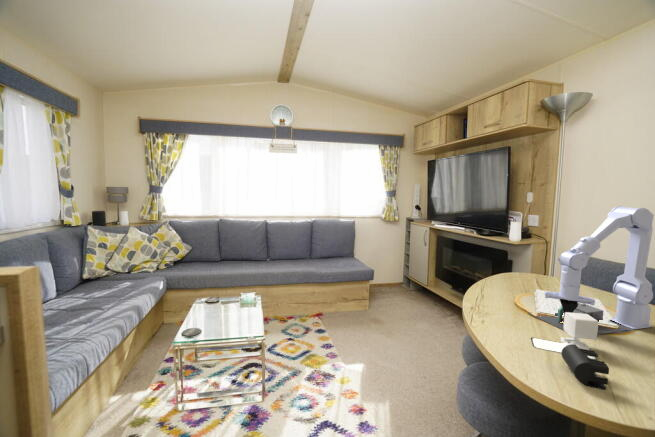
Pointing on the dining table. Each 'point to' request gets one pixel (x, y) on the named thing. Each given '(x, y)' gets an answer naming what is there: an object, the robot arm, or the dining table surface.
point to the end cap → (585, 366)
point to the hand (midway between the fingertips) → (566, 319)
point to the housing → (589, 311)
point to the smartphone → (551, 346)
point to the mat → (560, 325)
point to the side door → (559, 314)
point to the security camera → (579, 329)
